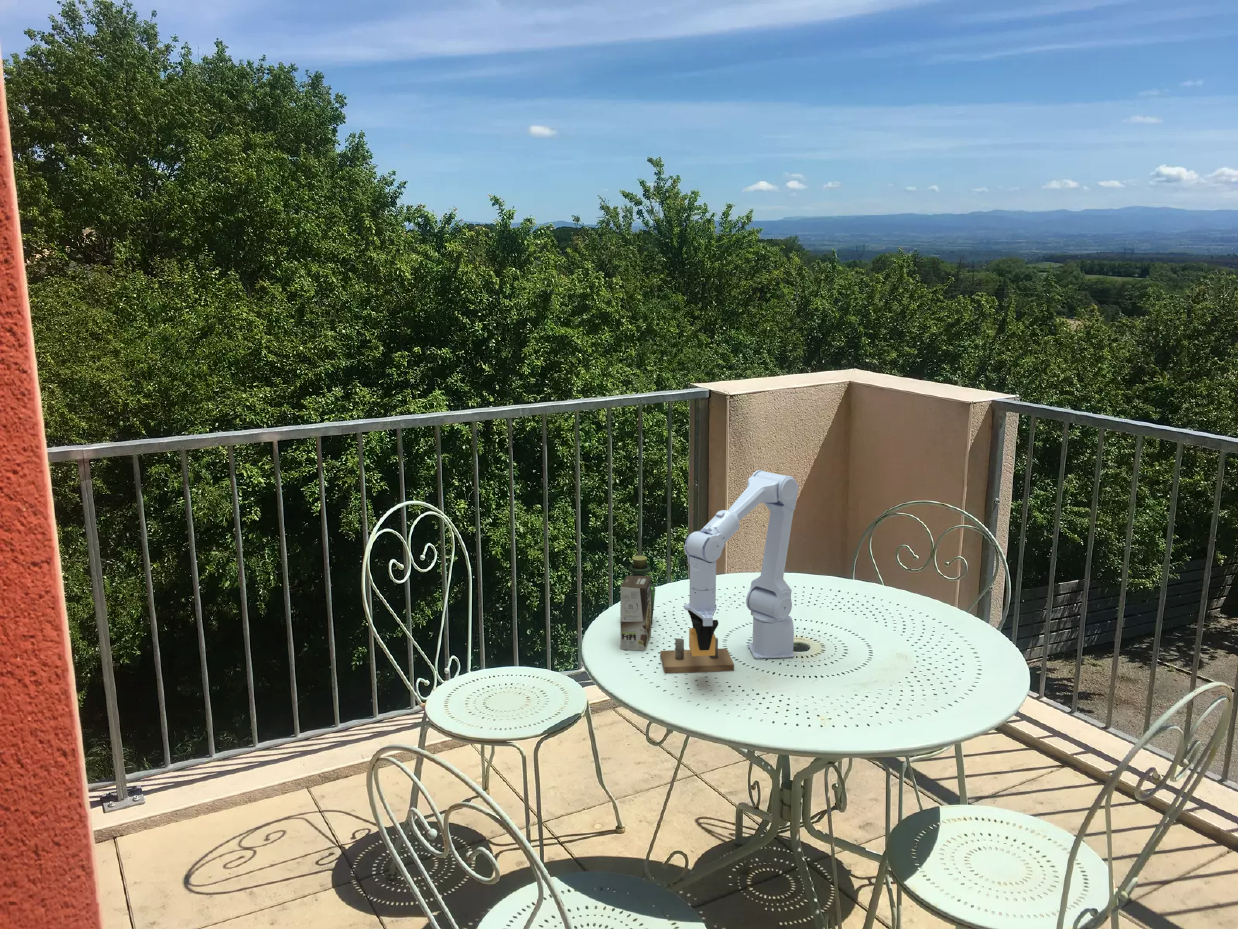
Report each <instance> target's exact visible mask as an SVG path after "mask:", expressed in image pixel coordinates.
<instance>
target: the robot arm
mask: <svg viewBox="0 0 1238 929" xmlns="http://www.w3.org/2000/svg"><path fill="white" fill-rule="evenodd" d="M798 492H799V484H798V483H797V480H796V479H795V478H794V477H793V476H792V475H784V474H780V473H774V472H769V471H765V470H761V469H758V470H756V471H754V472H753V474H751V476H750V477H749V478H748V479H747V485H746V488H745V490H744V491H743V492H742V493H741V494H740V495H739V497H737V499H736V500H735V501H734V502H733V504H732V505H731V506H730V507H729V509H728V510H727V509H721V510H718V511H717V512H716V513H715V516H713V517H712V518H711V519H710V520H709V521H708V522H707V523H706V524H705V525H704V526H703V528H701V529H700V530H697V531H693V532H692V533H690V534H689V535H687V537H686V539H685V544H684V545H683V551H684V553H685V555H686V556H687V563H688V564H689V603H684V604H683V608H684V610H685V611H687V612H688V616H689V617H690V621H691V624H692V628H695V630H696V634H697V640H698V646H699V649H700V650H709V648H710V645H711V640H712V636H713V634H715V631H716V630H717V628H718V626H719V620H718V619H713V618H714V615H715V614H716V611H717V602H716V601H717V600H716V597H717V596H716V595H717V594H716V593H717V589H716V588H717V587H716V586H717V560H718V559H719V558H721V555H722V553H723V549H724V548H726V547H725V546H726V543H727V542H728V541H729V540H730V538H731V537H732V536H734V534H735V533H736V532H737V531H738V530H739V529H740V521H741V520H743V518H745V517H746V516H747V515H748V514H749V513H751V511H753V510H754V509H755V508H756V507H757V506H758V505H760V504H761V503H764V504H765V506H766V508H767V509H768V511H769V517H768V518H769V519H768V524H767V531H766V538H765V544H764V549H763V550H764V551H763V558H762V563H761V564H762V566H761V570H760V576H758V577H756V578H755V579H752V581H751V583H750V587H749V589H748V592H747V593H746V594H747V595H746V598H745V605H746V608H747V609H748V610H749V611H750V616H752V617H753V618H752V642H751V643H750V642H749V643H747V647H748V648H749V650H750V652H751V654H752V656H753V658H754V659H757V660H758V659H780V658H781V659H783V658H794V657H795V655H794V638H795V633H794V632H795V630H794V629H795V628H794V622H793V618H792V616H790V614H791V612H792V608H793V602H792V592H793V591H792V588H791V587H790V585H789V584H788V583H787V582H786V581H785V579H784V577H785V576H784V575H785V569H786V563H787V555H788V549H789V543H790V537H791V531H792V523H793V517H794V511H795V510H796V506H797V500H798Z"/></svg>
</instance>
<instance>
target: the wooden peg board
mask: <svg viewBox="0 0 1238 929" xmlns="http://www.w3.org/2000/svg"><path fill="white" fill-rule="evenodd" d="M674 643H675V644H674V646H675V648H674V650H673V649H671V650H660V652H659V653H660V654H659V656H660V661H661V664H662V668H663V671H664V674H680V673H681V674H682V673H707V672H733V671H735V663H734V662H733V659H732V657H731V654H730V652H729V650H728V648H725V647H724V648H719V638H718V637H716V636H715V655H714V656H692V654H691V651H690V649H685V639H684V638H676V639H675V640H674Z"/></svg>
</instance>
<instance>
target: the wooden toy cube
mask: <svg viewBox="0 0 1238 929" xmlns="http://www.w3.org/2000/svg"><path fill="white" fill-rule="evenodd" d="M715 637H716V634H715V633H714V634H713V636H712V640H711V645H710V648H709V650H700V649H699V646H698V640H697V634H696V630H695V628H693V627H689V628H688V647H689V650H690V651H691V654H692V656H714V655H715Z"/></svg>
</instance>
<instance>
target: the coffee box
mask: <svg viewBox="0 0 1238 929" xmlns="http://www.w3.org/2000/svg"><path fill="white" fill-rule="evenodd" d="M651 583H652V576H649V575H646V576H633V575H629V574H628V575H626V576H625V578H624V580H623V581H622V584H620V586H619V588H620V599H619V600H620V601H619V602H620V605H619V606H620V611H619V612H620V618H619V619H620V649H621V650H629V651H630V650H631V651H641V652H645V651H646V649H647V647H648V645H649V642H650V641H651V637H652V625H651Z"/></svg>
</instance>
